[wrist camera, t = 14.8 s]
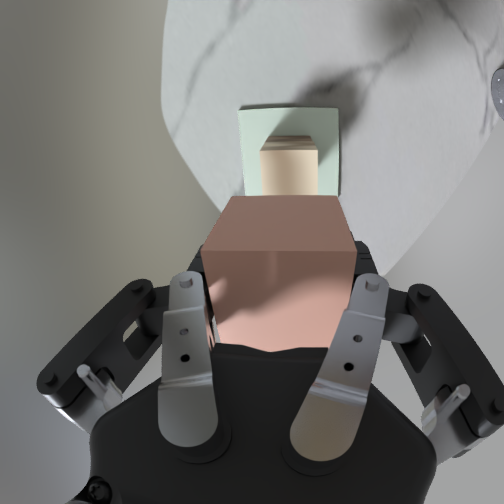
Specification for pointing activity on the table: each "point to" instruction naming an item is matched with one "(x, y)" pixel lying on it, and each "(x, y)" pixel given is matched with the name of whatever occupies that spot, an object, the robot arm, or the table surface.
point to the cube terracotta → (279, 270)
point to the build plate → (290, 124)
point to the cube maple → (289, 168)
